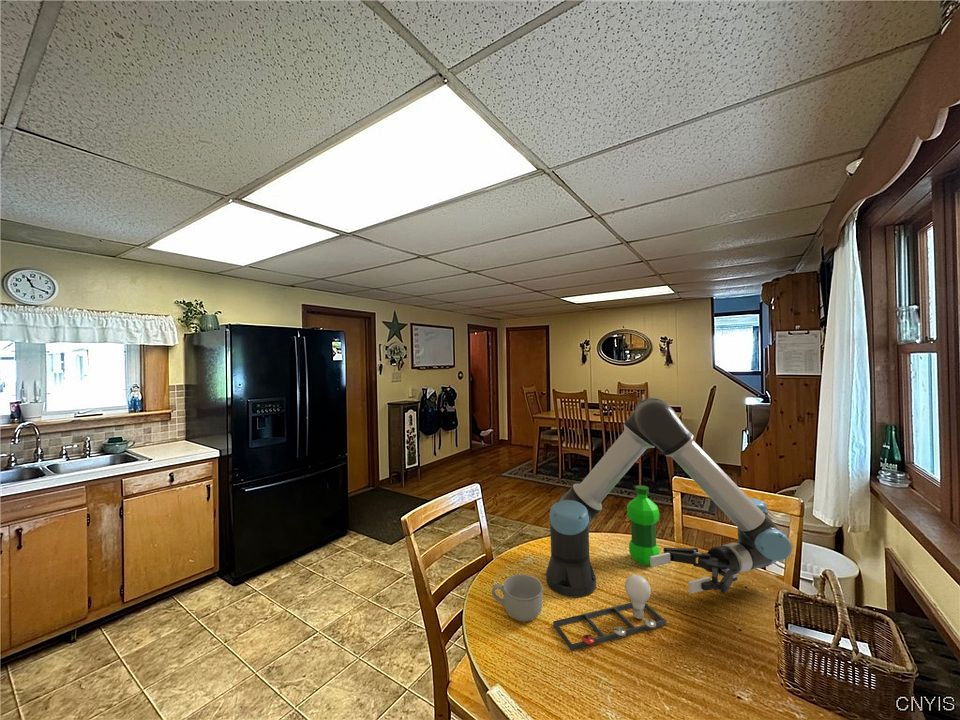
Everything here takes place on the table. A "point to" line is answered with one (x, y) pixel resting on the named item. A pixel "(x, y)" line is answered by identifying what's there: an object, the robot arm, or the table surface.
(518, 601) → the teacup
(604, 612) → the dark grey flat frame
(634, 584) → the lightbulb
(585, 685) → the table surface
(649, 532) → the plastic bottle
